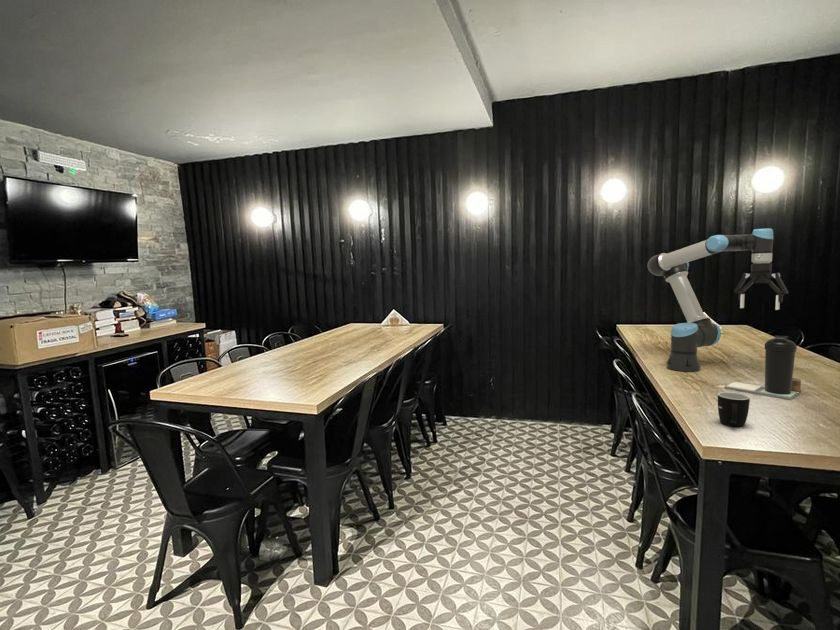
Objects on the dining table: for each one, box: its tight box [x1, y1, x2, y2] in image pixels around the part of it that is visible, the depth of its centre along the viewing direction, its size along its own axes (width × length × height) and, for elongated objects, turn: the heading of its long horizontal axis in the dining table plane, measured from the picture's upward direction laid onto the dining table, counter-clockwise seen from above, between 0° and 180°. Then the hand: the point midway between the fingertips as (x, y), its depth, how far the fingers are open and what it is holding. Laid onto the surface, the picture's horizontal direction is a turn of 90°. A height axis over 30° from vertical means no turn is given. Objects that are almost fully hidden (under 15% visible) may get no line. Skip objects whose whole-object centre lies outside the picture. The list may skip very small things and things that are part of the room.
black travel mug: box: [764, 335, 798, 395], centre depth 181 cm, size 10×10×23 cm
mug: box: [717, 391, 751, 428], centre depth 151 cm, size 12×9×10 cm
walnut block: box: [791, 377, 802, 394], centre depth 187 cm, size 5×5×5 cm
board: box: [724, 381, 800, 401], centre depth 187 cm, size 23×11×1 cm, turn 36°
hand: (759, 308), depth 205 cm, fingers open, 13 cm apart
